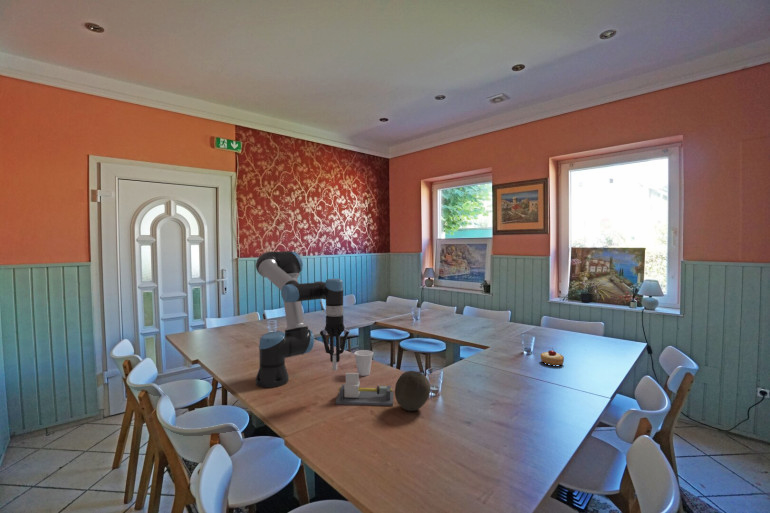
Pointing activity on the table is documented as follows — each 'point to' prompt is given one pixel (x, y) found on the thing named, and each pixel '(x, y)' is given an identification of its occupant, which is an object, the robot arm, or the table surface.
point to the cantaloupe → (412, 390)
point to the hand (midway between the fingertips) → (335, 369)
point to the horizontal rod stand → (368, 396)
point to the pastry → (552, 358)
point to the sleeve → (352, 385)
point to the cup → (363, 361)
